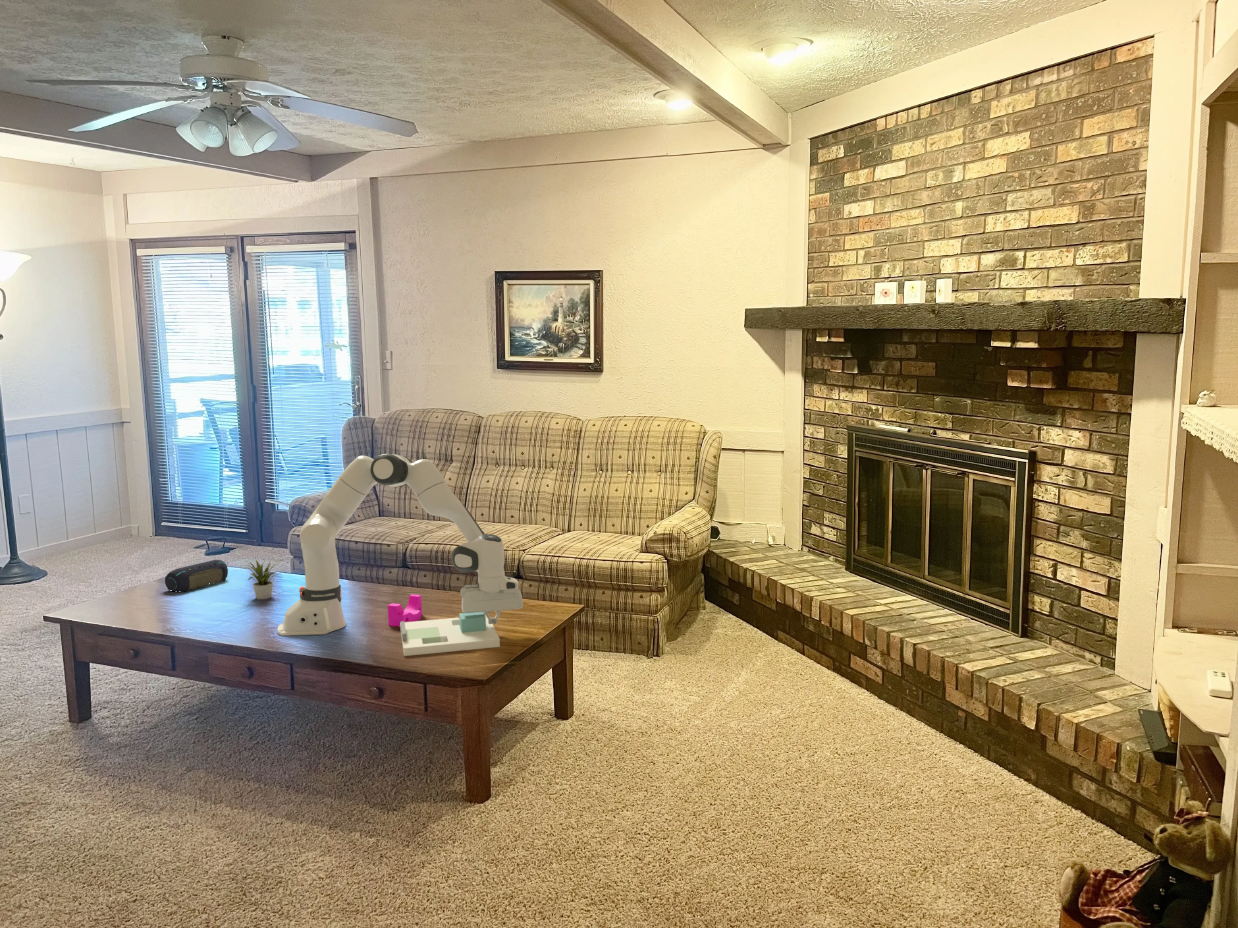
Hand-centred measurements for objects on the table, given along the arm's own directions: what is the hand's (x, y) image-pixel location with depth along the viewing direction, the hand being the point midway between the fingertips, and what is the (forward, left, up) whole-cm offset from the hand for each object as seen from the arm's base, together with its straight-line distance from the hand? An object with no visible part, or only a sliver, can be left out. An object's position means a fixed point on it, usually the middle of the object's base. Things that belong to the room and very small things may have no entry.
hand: (492, 623), depth 310 cm
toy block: (-26, +24, -4) cm, 36 cm away
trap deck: (-15, 0, -4) cm, 15 cm away
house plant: (-80, +70, -4) cm, 107 cm away
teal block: (-7, 0, -1) cm, 7 cm away
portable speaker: (-106, +96, -4) cm, 143 cm away
